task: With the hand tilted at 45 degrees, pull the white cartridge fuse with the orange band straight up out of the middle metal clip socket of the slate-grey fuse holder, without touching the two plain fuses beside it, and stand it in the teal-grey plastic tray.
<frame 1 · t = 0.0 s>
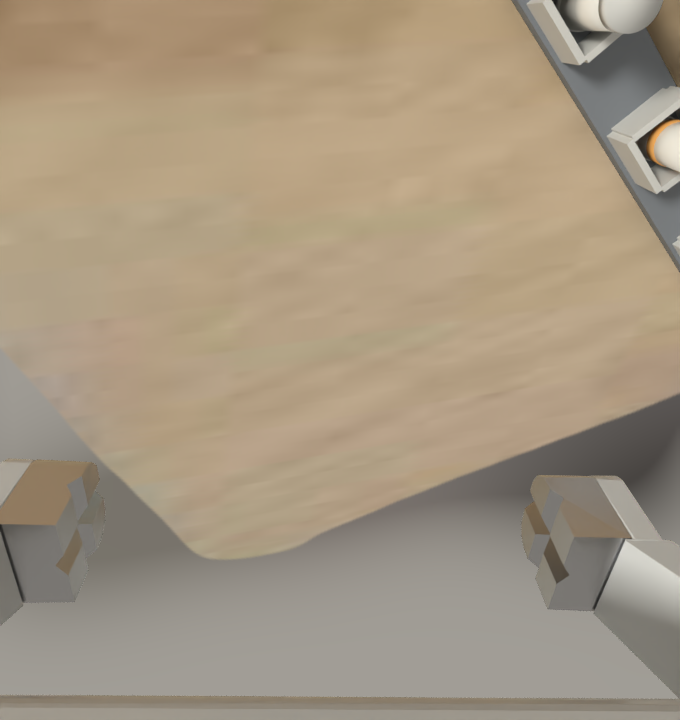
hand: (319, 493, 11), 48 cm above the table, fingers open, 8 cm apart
plain fuse 2: (577, 4, 47), point 1 cm above the table, touching fuse holder
fuse holder: (644, 133, 54), on the table
marked fuse: (652, 136, 53), point 1 cm above the table, touching fuse holder
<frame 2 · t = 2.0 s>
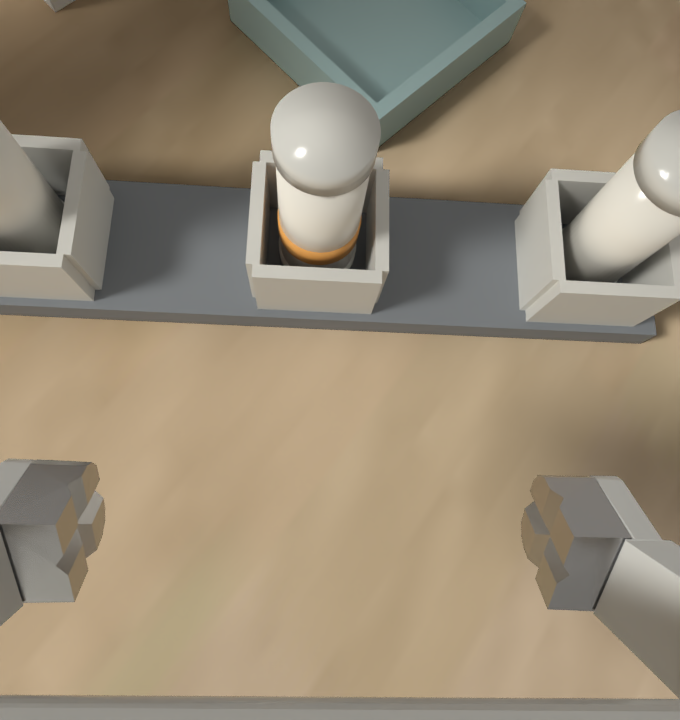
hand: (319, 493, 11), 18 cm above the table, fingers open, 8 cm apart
plain fuse 2: (44, 239, 29), point 1 cm above the table, touching fuse holder
plain fuse 1: (575, 267, 30), point 1 cm above the table, touching fuse holder
fuse holder: (316, 266, 31), on the table
tray: (371, 31, 35), on the table
marked fuse: (316, 254, 30), point 1 cm above the table, touching fuse holder
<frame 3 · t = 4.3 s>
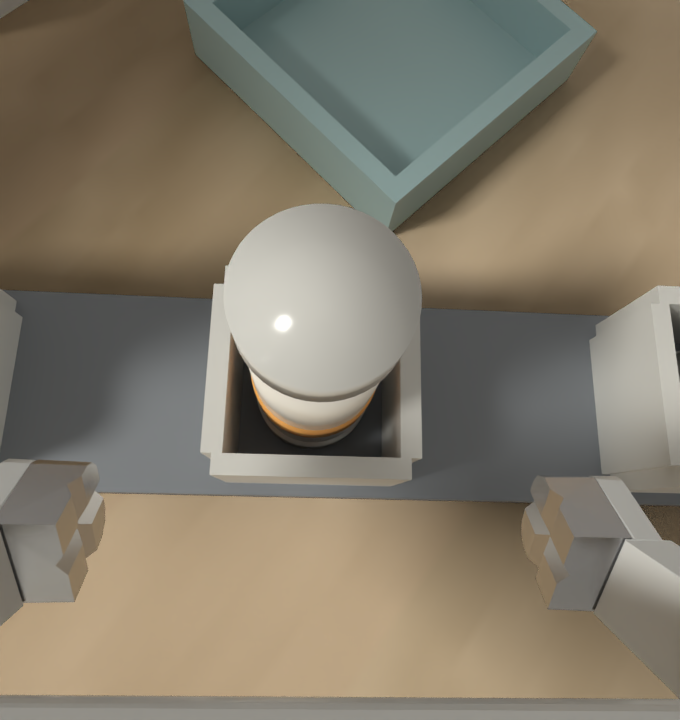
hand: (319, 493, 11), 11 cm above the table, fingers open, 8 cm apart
fuse holder: (311, 403, 22), on the table
tray: (385, 67, 26), on the table
marked fuse: (312, 395, 21), point 1 cm above the table, touching fuse holder
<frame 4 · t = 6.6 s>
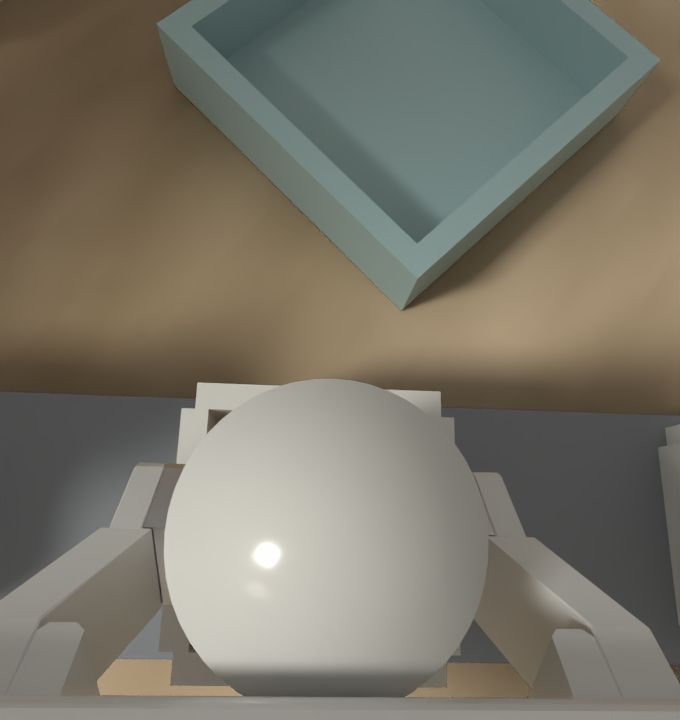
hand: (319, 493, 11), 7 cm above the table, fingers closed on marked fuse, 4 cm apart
fuse holder: (311, 523, 18), on the table
tray: (400, 99, 22), on the table
marked fuse: (312, 524, 16), point 1 cm above the table, touching fuse holder, gripper
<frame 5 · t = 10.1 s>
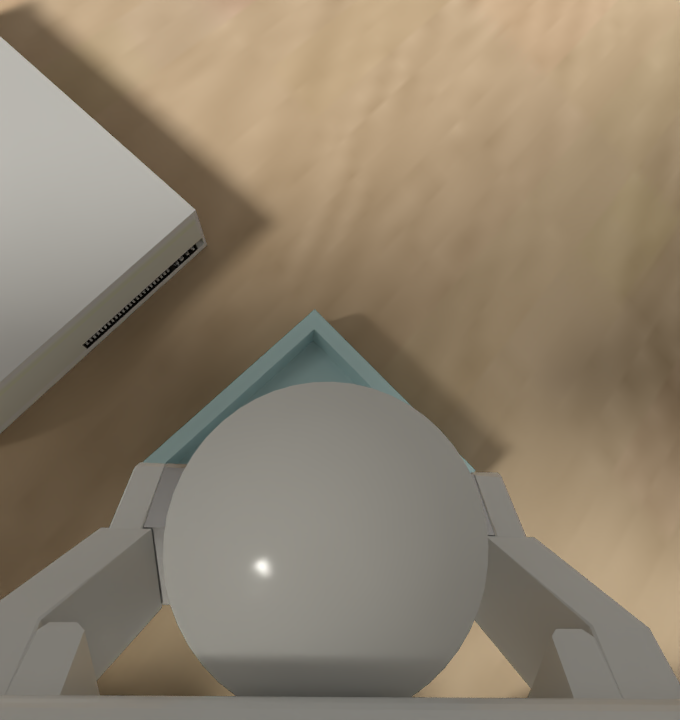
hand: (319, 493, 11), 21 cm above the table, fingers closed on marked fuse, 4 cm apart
tray: (309, 471, 32), on the table
marked fuse: (311, 526, 16), point 16 cm above the table, touching gripper
when the fingers open (8 cm above the table, at t = 13.7 s): marked fuse drops 1 cm, resting on tray.
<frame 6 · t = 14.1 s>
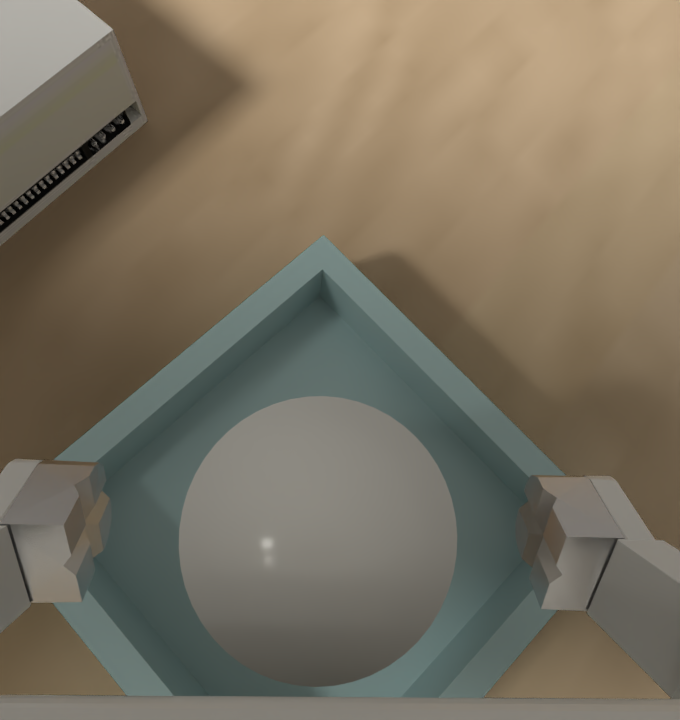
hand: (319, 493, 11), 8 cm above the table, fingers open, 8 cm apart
tray: (311, 523, 18), on the table
marked fuse: (310, 524, 18), point 1 cm above the table, touching tray
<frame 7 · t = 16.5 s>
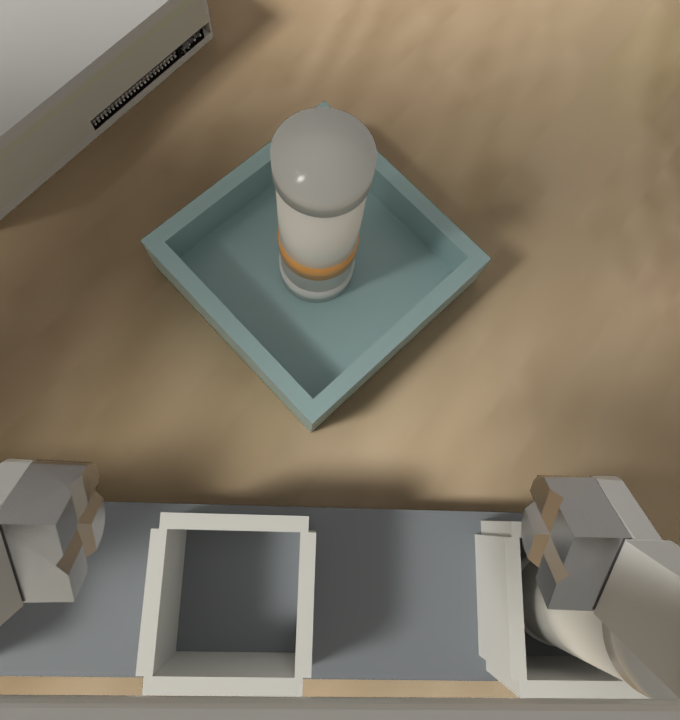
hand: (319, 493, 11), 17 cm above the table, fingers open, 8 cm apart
plain fuse 1: (545, 594, 26), point 1 cm above the table, touching fuse holder
fuse holder: (243, 584, 27), on the table
tray: (317, 273, 31), on the table
marked fuse: (316, 268, 30), point 1 cm above the table, touching tray
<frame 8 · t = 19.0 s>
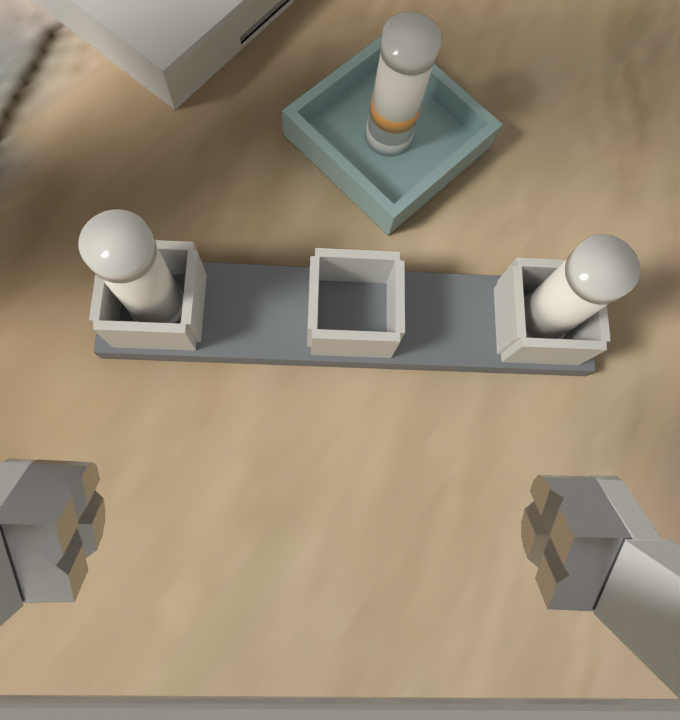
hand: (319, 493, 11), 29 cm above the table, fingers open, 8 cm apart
plain fuse 2: (159, 306, 41), point 1 cm above the table, touching fuse holder
plain fuse 1: (537, 322, 42), point 1 cm above the table, touching fuse holder
fuse holder: (350, 321, 43), on the table
tray: (388, 140, 47), on the table
marked fuse: (388, 135, 47), point 1 cm above the table, touching tray
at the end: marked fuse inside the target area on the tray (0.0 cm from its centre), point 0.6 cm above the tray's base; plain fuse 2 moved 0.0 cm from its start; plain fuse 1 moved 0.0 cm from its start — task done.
